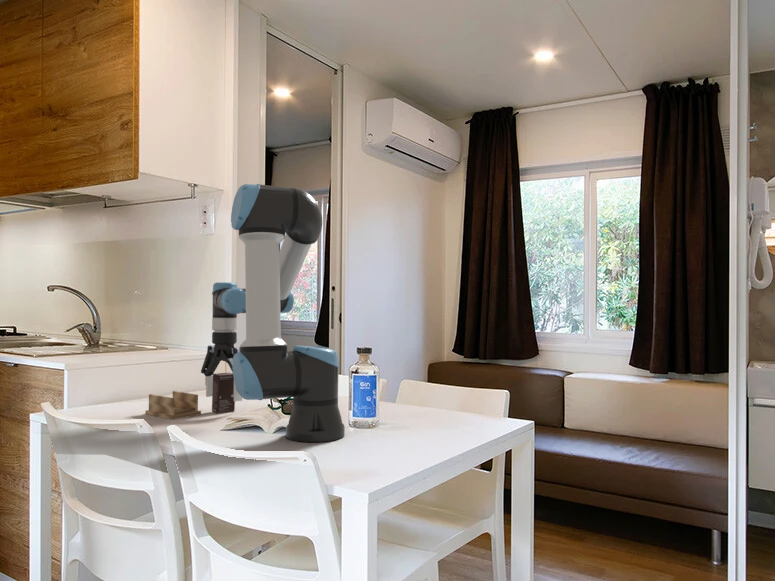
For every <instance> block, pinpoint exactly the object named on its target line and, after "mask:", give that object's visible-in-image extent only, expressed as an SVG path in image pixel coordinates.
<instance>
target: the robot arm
mask: <svg viewBox="0 0 775 581" xmlns="http://www.w3.org/2000/svg"><path fill="white" fill-rule="evenodd" d="M232 202H233V203H232V206H231V211H230V212H231V213H230V223H231V228H232V229H233V230H235V231H238V239H239V240H241V242H242V243H243V244H244V254H245V255H244V257H245V258H244V260H245V261H244V270H245V271H244V272H245V273H244V275H245V276H244V278H245V288H240V287H239V288H238V284H237V283H236V282H228V281H227V282H223V281H221V282H220V281H219V282H214V283H213V285H212V291H211V292H212V293H211V294H212V295H211V296H212V317H211V318H212V319H211V330H212V333H211V343H212V344H213V345H207V350H206V355H205V357H204V359H203V360H204V361H203V363H202V367H201V370H200V373H201V374H203V375H204V376H205V382H204V383H205V397H206V398H211V397H212V393H213V374H215V371H216V370H217V368H218V367H219V364H220V363H221V362H222V361H223V362H225V363H227V364H228V366H229V368H230V370H231V373H233V377H234V401H235V403H236V402H240V401H241V402H242V401H243V400H246V401H255V400H256V401H263V400H271V399H283V398H285V399H286V398H292V399H293V400H292V409H291V412H290V414H289V415H290V416H289V420H288V424H287V425H286V428H285V437H286V439H289V440H291V441H296V442H302V443H303V442H304V443H318V442H319V443H320V442H321V443H322V442H331V441H335V440H340V439H342V438H343V437H344V436H345V428H346V427H345V424H344V423H343V420H342V419H343V418H342V415H341V411H340V408H339V368H340V366H339V354H338V353H337V351H336V350H335V349H331V348H326V347H325V348H324V347H318V346H311V345H310V346H308V345H298V344H297V345H294V346H293V347H292V351H288V344H287V342H286V341H285V340H284V339H283V338H282V333H281V332H282V330H281V329H282V328H281V324H282V323H281V322H282V320H281V319H282V318H281V316H282V315H281V314H285V313H290V312H291V311H292V310H293V308H294V301H295V297H294V293H293V288H294V285H295V283H296V281H297V278H298V276H299V273H300V271H301V269H302V267H303V264H304V262H305V260H306V259H307V255H308V253H309V250H310V248H311V247H312V245H313V244H316V242H317V241H318V239H319V238H320V236H321V232H322V228H323V215H322V211H321V209H320V206H319V204H318V202H317V201H316V200H315V198H314V197H313V196H312V195H311V194H309V193H308V192H307V191H305V190H303V189H301V188H297V187H284V186H275V185H267V184H266V185H265V184H260V183H256V184H254V183H253V184H248V183H246V184H242V185H240V186H239V187H238V188H237V191H236V193H235V195H234V198H233V201H232ZM281 243H282V244H281ZM280 245H281V246H280ZM238 314H239V315H240V314H245V340H244V341H243V342H242V343H241V344H240V345H239V347H235V344H237V342H238V338H237V336H238V335H237V334H238V333H237V330H238V327H237V325H238V324H237V323H238V322H237V318H238Z"/></svg>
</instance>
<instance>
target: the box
mask: <svg viewBox="0 0 775 581" xmlns="http://www.w3.org/2000/svg"><path fill="white" fill-rule="evenodd" d="M212 376H213V393H212V396H211V397H212V398H211V399H212V401H211V402H212V403H211V412H212V413H214V414H222V413H231V412H235V411H236V410H235V409H236V408H235V407H236V402H235V401H234V377H233V372H221V373H220V372H219V373H214V374H213V375H212Z"/></svg>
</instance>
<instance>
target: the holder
mask: <svg viewBox="0 0 775 581" xmlns="http://www.w3.org/2000/svg"><path fill="white" fill-rule="evenodd" d="M198 408H199V394H197V393H191V392H190V393H189V392H184V391H177V390H173V391H172V397H171V396H164V395H160V394H159V395H158V394H153V393H151V394H148V409H147V410H145V415H149V416H155V417H159V418H164V419H169V420H176V419H177V420H178V419H182V418H188V417H193V416H199V415H200V416H201V415H202V410H199V409H198Z"/></svg>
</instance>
